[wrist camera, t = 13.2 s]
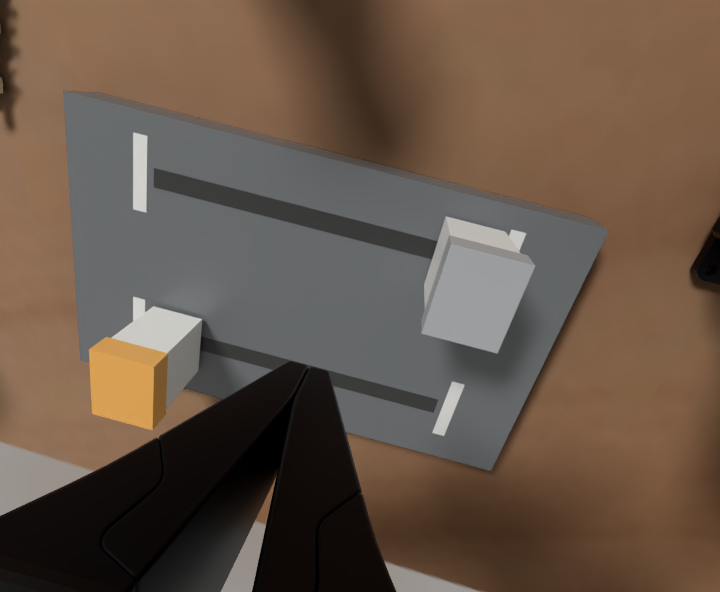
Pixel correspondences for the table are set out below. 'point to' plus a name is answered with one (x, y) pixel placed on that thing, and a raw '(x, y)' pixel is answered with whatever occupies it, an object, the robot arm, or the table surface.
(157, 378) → the orange fader
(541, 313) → the console
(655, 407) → the table surface
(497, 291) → the grey fader
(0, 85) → the woven mat
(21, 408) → the table surface
